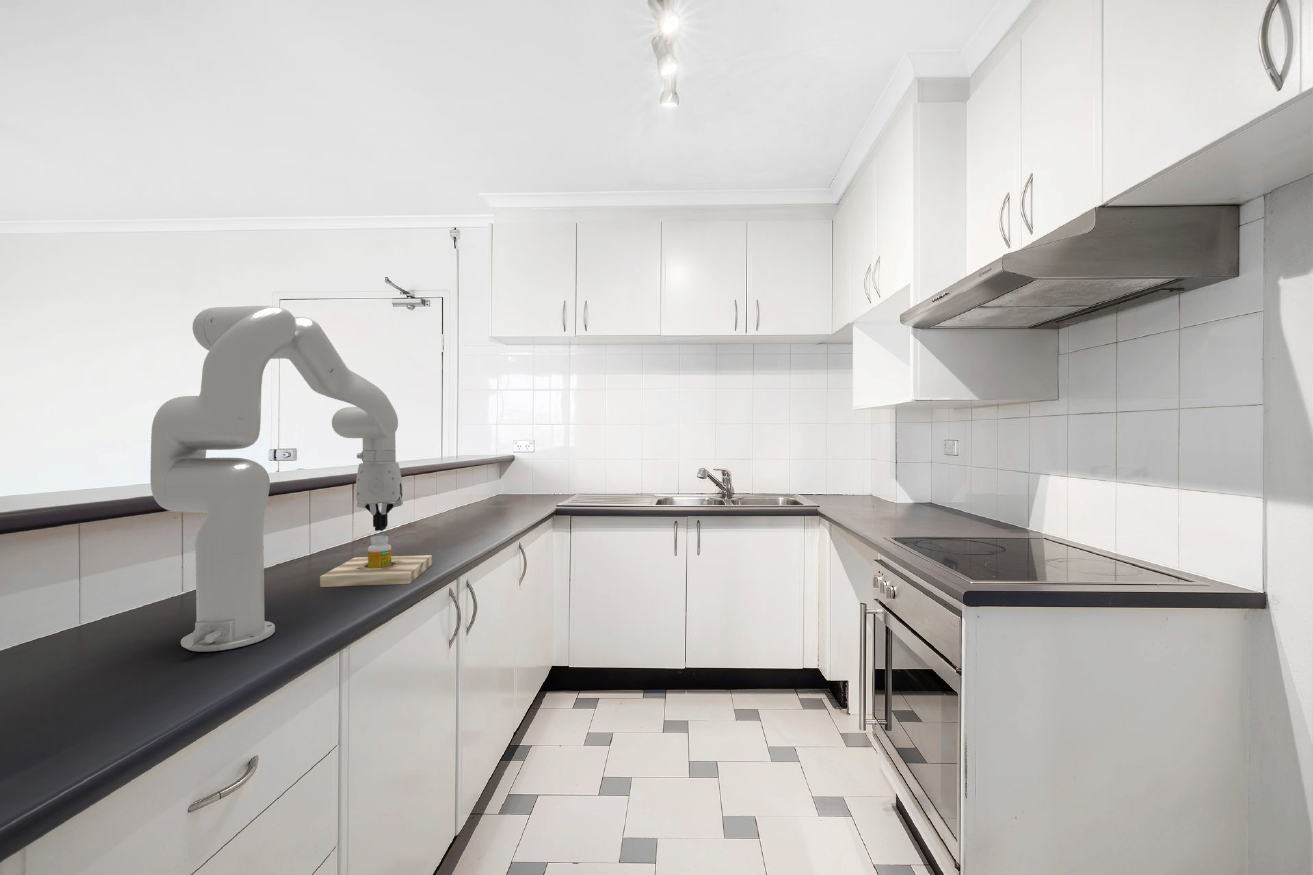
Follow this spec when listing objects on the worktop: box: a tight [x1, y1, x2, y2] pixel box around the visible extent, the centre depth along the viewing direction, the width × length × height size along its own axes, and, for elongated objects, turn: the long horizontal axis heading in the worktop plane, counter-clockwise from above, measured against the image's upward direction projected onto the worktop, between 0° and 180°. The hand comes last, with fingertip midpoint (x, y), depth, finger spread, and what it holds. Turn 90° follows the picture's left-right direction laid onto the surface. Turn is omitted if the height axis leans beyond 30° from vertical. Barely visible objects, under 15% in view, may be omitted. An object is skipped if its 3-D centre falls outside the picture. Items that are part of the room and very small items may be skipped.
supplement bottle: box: [367, 535, 392, 568], centre depth 144 cm, size 5×5×10 cm
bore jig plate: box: [319, 554, 433, 588], centre depth 145 cm, size 20×20×2 cm
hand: (380, 529), depth 145 cm, fingers closed
